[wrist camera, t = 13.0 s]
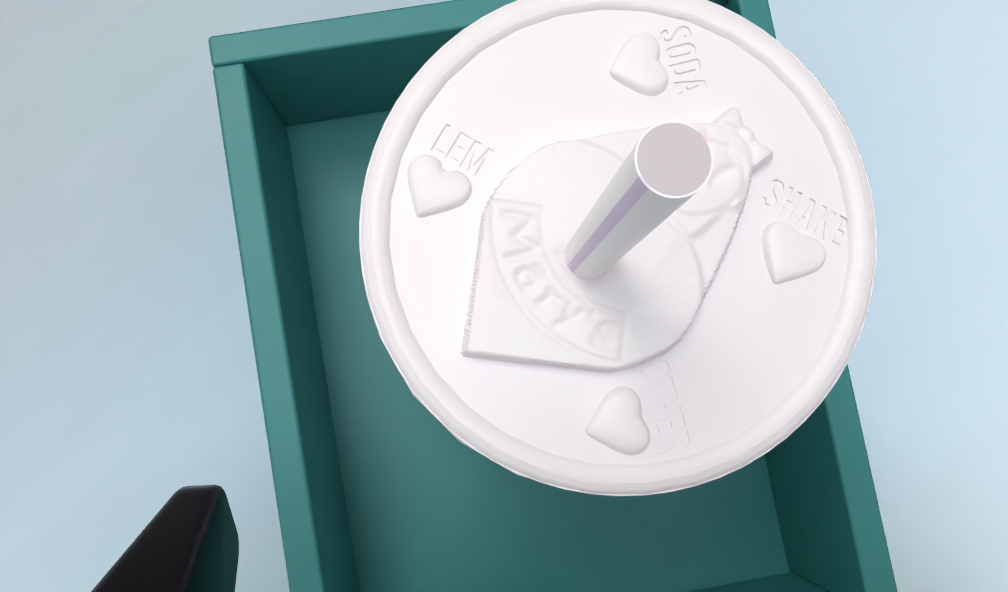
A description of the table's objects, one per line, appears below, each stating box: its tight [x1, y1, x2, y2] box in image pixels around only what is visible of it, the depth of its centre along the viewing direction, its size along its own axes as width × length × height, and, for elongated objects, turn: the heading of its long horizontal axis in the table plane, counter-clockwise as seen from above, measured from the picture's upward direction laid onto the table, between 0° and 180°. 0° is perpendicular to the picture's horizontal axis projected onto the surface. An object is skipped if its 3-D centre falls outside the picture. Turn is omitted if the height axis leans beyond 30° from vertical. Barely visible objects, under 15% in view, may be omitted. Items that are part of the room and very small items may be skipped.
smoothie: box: [359, 0, 877, 496], centre depth 13 cm, size 6×6×14 cm
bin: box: [209, 0, 897, 592], centre depth 18 cm, size 13×11×4 cm
